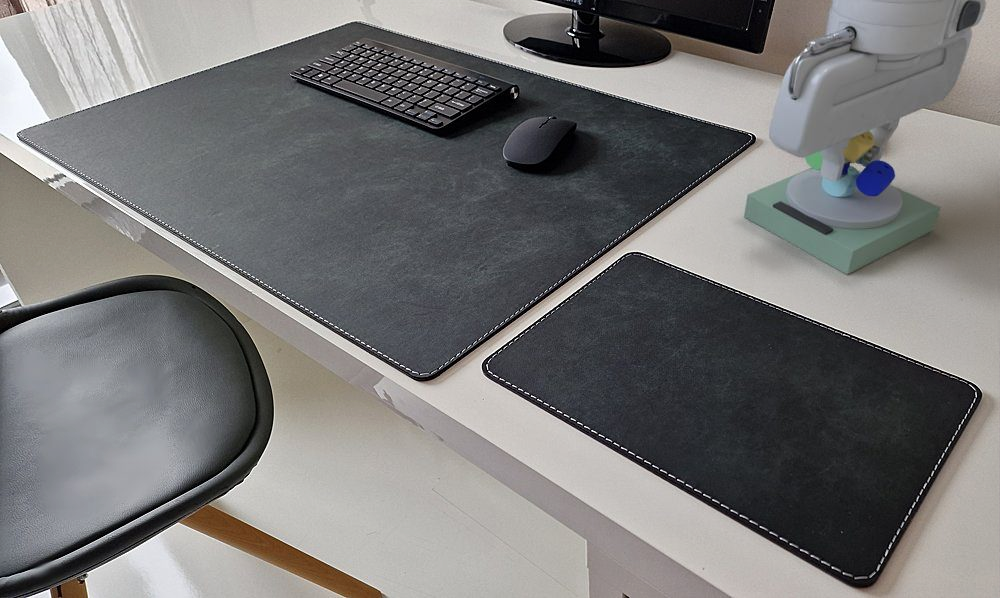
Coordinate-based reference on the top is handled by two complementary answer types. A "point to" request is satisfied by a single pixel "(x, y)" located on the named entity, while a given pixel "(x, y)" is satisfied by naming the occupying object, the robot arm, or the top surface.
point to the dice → (868, 180)
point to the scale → (840, 219)
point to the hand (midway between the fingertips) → (849, 169)
